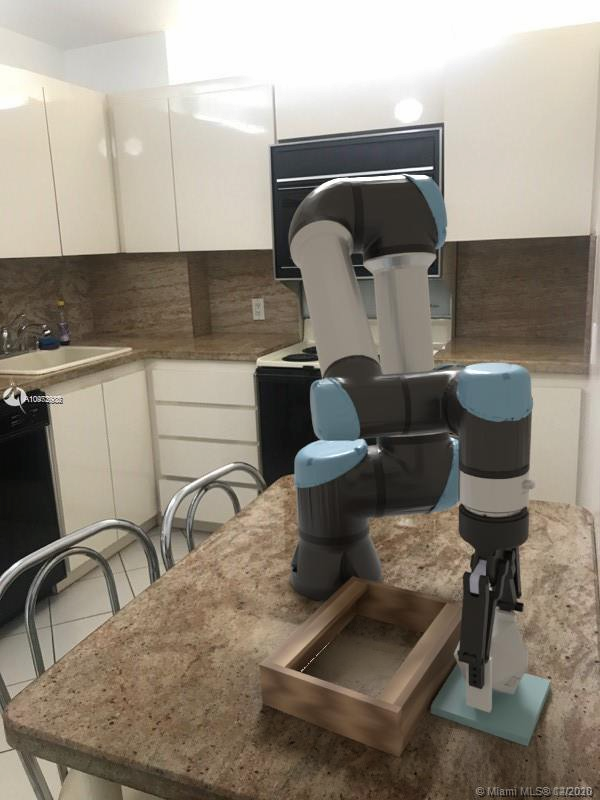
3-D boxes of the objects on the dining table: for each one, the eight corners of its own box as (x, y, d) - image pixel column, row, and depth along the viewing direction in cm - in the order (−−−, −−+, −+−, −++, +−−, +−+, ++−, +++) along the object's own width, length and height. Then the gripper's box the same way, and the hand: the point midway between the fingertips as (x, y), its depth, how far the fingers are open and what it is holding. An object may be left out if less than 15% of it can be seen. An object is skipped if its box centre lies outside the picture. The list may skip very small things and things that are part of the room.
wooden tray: (262, 704, 81) (259, 664, 79) (354, 609, 100) (352, 576, 99) (399, 757, 71) (397, 713, 70) (470, 641, 91) (470, 604, 89)
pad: (431, 713, 77) (430, 706, 77) (462, 661, 86) (462, 655, 86) (527, 746, 71) (527, 738, 71) (550, 687, 80) (550, 680, 80)
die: (498, 724, 73) (549, 654, 72) (432, 671, 76) (480, 603, 75) (501, 702, 80) (547, 638, 79) (442, 654, 83) (485, 592, 82)
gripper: (499, 551, 62) (496, 754, 67) (550, 477, 80) (545, 641, 85) (424, 536, 66) (427, 729, 71) (489, 469, 84) (488, 627, 89)
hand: (491, 681), depth 78 cm, fingers closed on die, 9 cm apart
